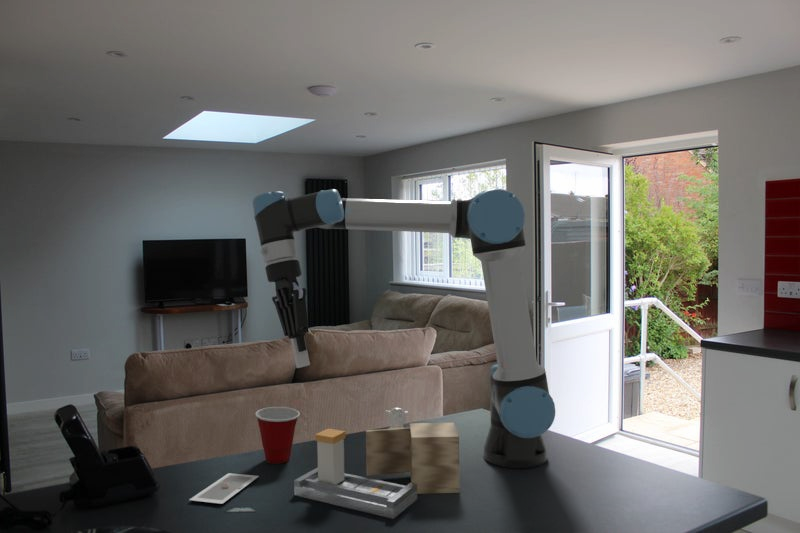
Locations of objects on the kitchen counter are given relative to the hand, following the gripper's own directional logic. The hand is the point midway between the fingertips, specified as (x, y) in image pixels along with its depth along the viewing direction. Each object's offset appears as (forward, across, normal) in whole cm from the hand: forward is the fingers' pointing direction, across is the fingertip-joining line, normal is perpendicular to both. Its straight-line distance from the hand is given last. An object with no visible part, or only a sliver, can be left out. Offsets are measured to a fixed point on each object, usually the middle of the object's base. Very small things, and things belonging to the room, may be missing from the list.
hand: (303, 366), depth 132 cm
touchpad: (+23, -12, -18) cm, 32 cm away
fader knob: (+25, +3, 0) cm, 25 cm away
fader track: (+28, +8, +2) cm, 30 cm away
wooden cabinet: (+30, +10, +15) cm, 35 cm away
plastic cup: (+23, -22, -1) cm, 31 cm away
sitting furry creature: (+28, -6, +23) cm, 37 cm away
